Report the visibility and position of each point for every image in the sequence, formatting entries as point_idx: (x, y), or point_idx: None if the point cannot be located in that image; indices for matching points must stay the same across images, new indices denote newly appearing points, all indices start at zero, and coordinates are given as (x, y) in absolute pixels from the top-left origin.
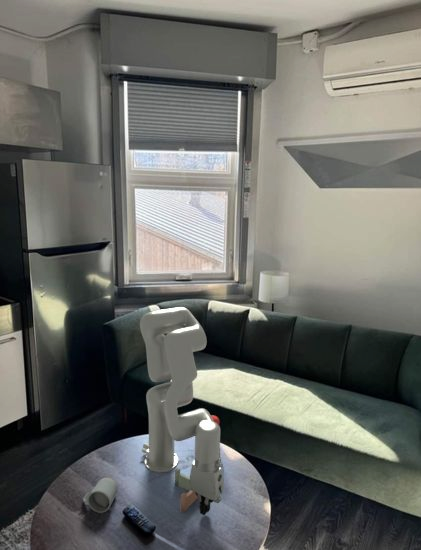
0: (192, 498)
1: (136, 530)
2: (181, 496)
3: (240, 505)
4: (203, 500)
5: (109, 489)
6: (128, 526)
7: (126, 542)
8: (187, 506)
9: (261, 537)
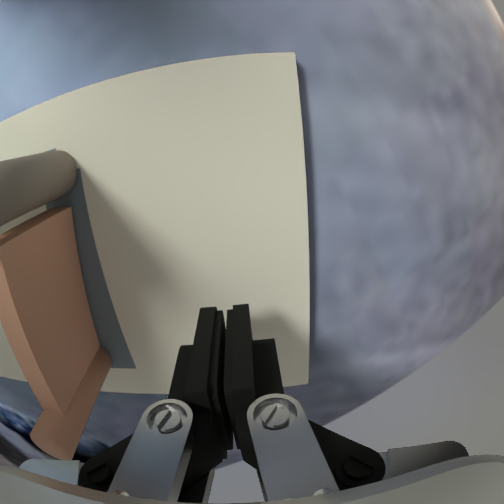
0: (63, 307)
1: None
2: (56, 457)
3: (398, 43)
4: (220, 450)
5: None
6: None
7: None
8: (91, 339)
9: None
